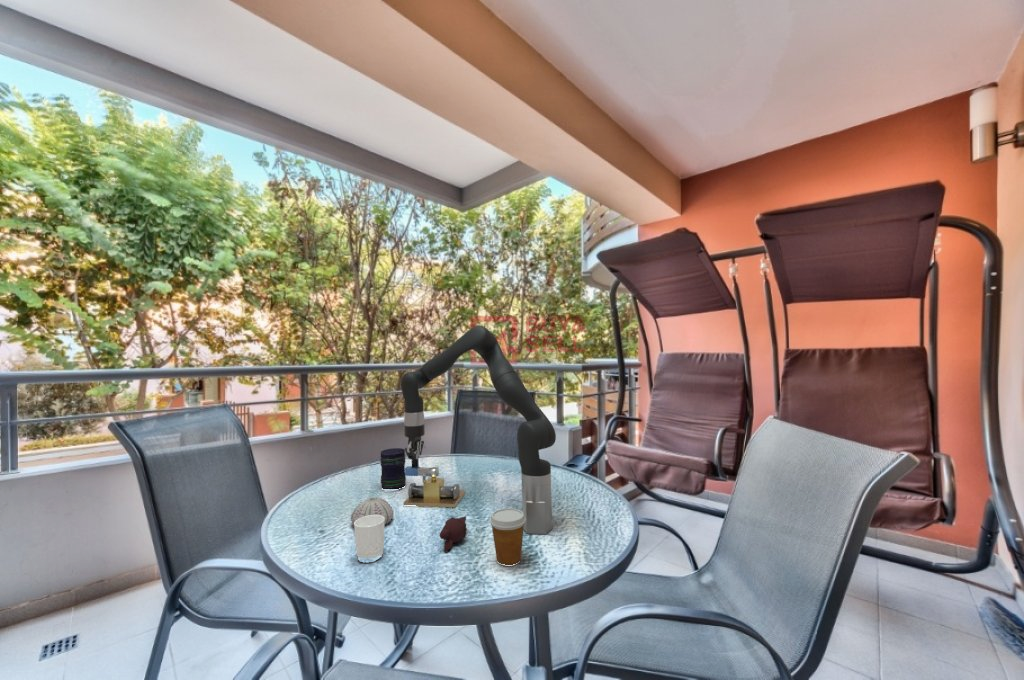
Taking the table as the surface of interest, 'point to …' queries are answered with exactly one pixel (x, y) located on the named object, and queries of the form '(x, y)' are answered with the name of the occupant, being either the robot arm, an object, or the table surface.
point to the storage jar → (393, 468)
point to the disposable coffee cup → (508, 534)
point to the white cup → (369, 536)
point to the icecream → (453, 531)
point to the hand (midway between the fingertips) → (415, 468)
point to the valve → (434, 493)
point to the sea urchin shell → (373, 509)
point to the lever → (421, 471)
